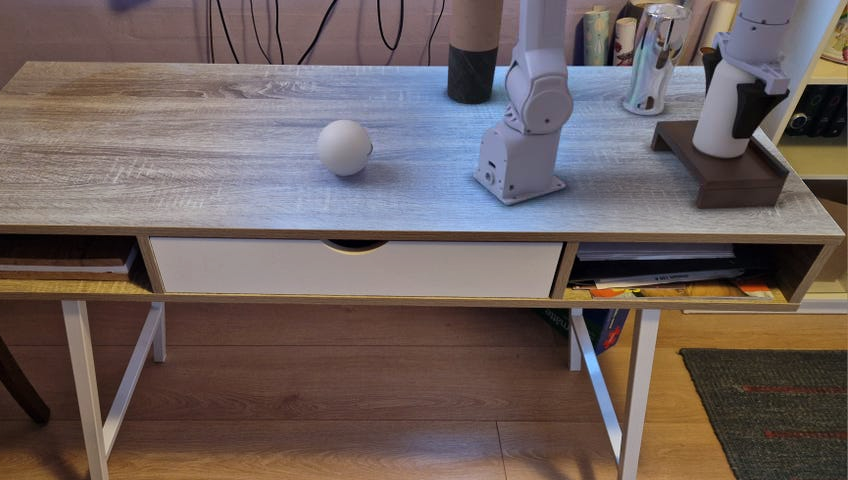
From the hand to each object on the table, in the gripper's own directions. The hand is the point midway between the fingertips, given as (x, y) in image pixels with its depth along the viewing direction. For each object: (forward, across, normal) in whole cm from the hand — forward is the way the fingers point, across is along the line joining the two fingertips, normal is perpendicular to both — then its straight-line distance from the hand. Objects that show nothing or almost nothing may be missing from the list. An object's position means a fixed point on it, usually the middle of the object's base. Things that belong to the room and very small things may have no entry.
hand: (726, 123), depth 90 cm
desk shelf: (+8, 0, 0) cm, 8 cm away
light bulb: (+4, +4, +49) cm, 49 cm away
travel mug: (+8, +27, +28) cm, 40 cm away
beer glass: (+8, +20, +1) cm, 22 cm away
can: (+4, 0, 0) cm, 4 cm away
